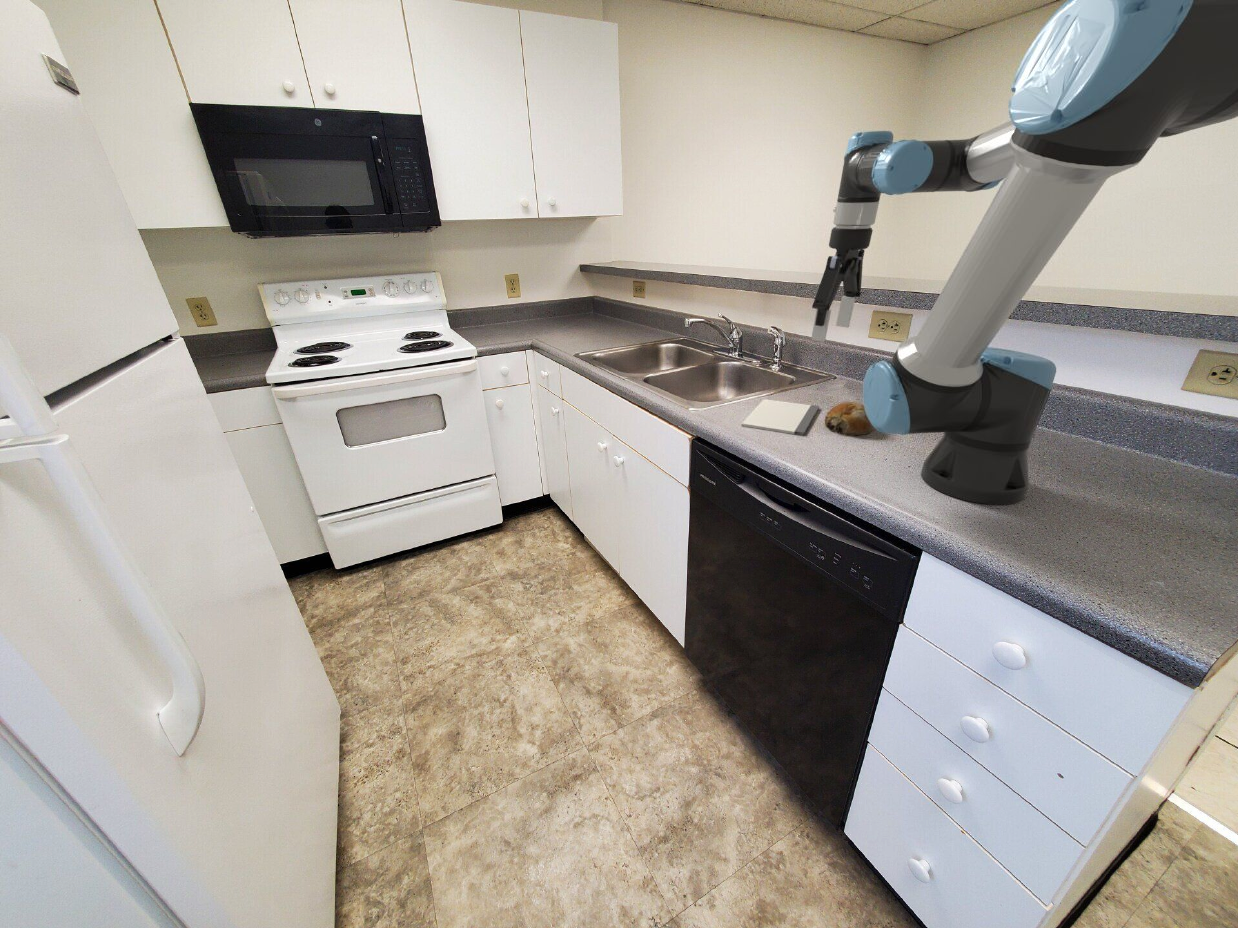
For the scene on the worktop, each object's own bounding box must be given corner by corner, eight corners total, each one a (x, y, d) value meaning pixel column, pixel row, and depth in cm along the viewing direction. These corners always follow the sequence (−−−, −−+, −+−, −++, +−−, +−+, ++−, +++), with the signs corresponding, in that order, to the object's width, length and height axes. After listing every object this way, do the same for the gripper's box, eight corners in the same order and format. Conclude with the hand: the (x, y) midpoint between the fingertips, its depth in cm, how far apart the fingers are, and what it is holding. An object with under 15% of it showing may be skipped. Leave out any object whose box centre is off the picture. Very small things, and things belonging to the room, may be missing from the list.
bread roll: (868, 451, 106) (891, 420, 102) (829, 434, 104) (851, 402, 101) (849, 434, 114) (870, 405, 111) (813, 418, 113) (833, 388, 110)
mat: (803, 435, 105) (803, 432, 105) (741, 425, 112) (741, 423, 111) (818, 408, 121) (819, 405, 120) (763, 401, 127) (763, 398, 127)
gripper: (855, 220, 104) (835, 318, 115) (807, 231, 89) (789, 343, 100) (892, 222, 100) (867, 323, 111) (848, 233, 84) (824, 350, 95)
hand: (830, 333), depth 105 cm, fingers open, 13 cm apart
